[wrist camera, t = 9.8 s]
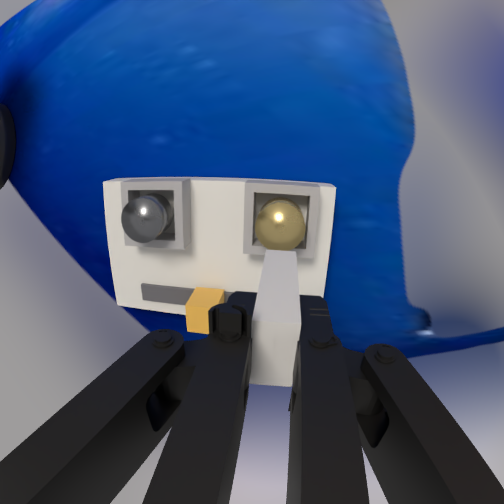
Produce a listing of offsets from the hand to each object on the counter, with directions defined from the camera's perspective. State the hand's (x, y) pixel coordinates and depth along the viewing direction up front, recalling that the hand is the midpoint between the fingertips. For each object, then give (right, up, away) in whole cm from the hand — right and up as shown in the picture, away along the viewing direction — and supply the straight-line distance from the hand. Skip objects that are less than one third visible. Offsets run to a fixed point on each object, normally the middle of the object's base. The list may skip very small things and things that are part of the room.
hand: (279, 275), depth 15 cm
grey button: (-11, +5, +12) cm, 17 cm away
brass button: (+1, +4, +11) cm, 12 cm away
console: (-5, +2, +18) cm, 19 cm away
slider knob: (-6, -4, +16) cm, 18 cm away
